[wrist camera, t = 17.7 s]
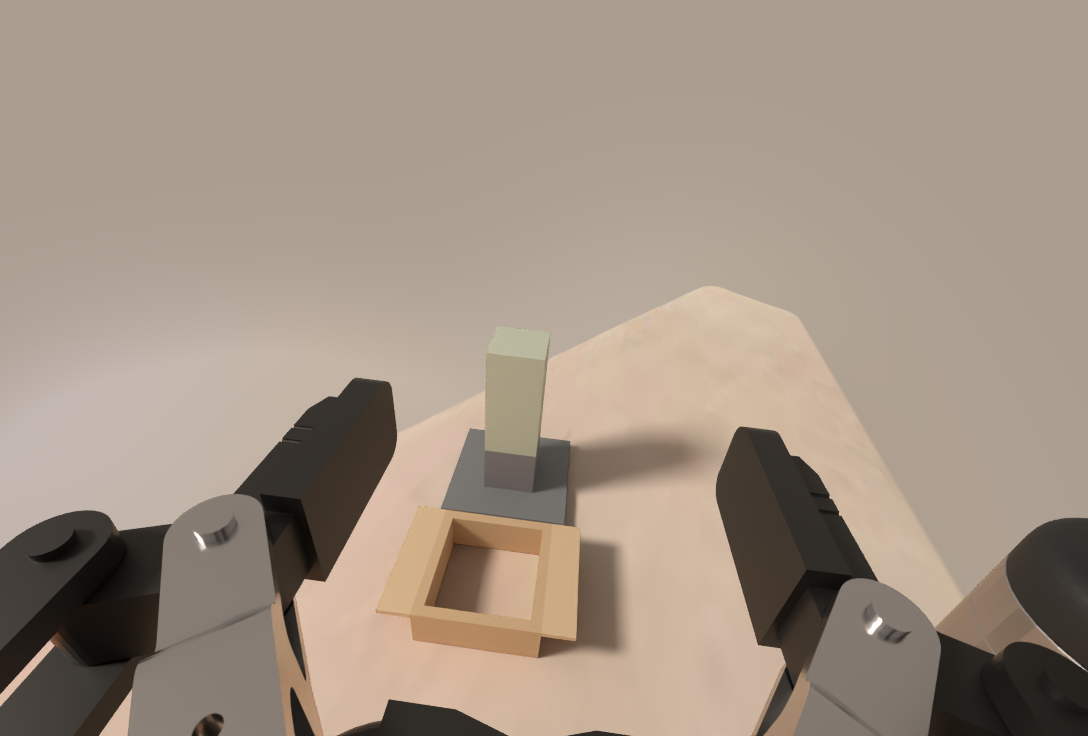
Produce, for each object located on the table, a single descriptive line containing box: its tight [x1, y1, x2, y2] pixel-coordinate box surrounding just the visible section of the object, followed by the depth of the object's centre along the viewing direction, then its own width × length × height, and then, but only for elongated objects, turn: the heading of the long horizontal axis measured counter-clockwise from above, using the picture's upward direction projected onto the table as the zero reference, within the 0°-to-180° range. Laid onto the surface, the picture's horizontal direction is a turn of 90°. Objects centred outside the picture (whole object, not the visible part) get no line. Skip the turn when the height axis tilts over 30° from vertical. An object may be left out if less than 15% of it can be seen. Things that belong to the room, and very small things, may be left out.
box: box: [484, 326, 550, 493], centre depth 45 cm, size 5×5×16 cm
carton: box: [376, 506, 580, 658], centre depth 38 cm, size 15×10×4 cm, turn 84°
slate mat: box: [441, 429, 570, 525], centre depth 50 cm, size 12×12×1 cm
